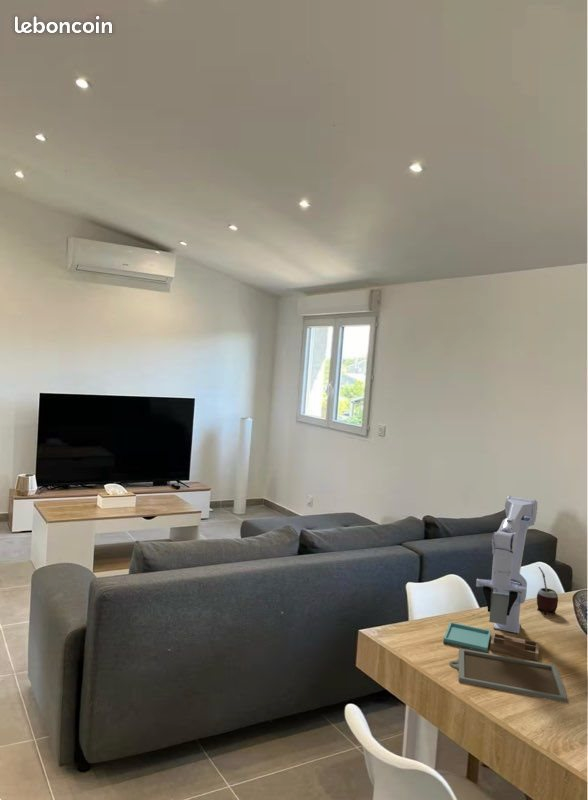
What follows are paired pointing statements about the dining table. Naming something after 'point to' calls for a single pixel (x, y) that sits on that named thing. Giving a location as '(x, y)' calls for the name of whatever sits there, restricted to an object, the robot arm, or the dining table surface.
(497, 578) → the robot arm
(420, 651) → the dining table surface
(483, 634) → the tray
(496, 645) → the rack
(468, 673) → the gray framed board
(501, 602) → the slate gray block
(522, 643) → the offcut upper
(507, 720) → the dining table surface
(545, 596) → the mate gourd
